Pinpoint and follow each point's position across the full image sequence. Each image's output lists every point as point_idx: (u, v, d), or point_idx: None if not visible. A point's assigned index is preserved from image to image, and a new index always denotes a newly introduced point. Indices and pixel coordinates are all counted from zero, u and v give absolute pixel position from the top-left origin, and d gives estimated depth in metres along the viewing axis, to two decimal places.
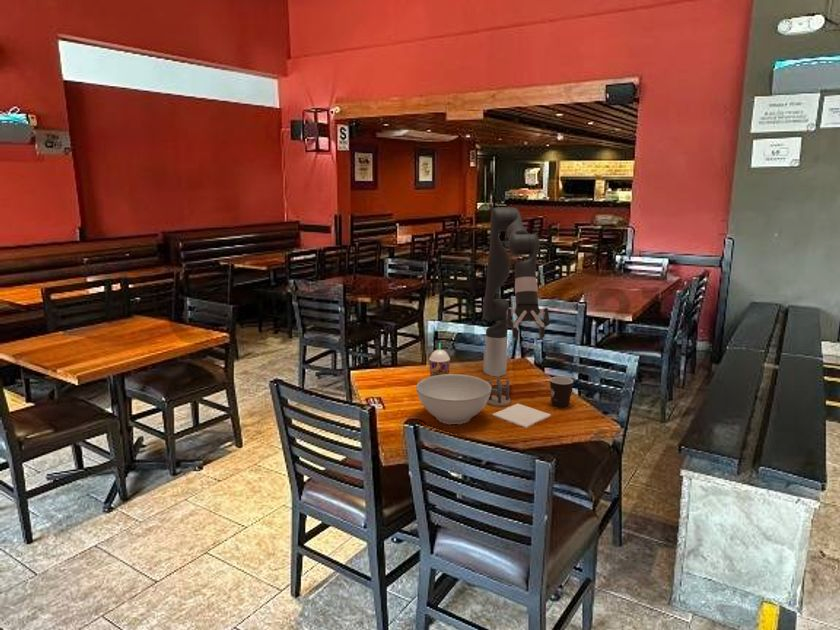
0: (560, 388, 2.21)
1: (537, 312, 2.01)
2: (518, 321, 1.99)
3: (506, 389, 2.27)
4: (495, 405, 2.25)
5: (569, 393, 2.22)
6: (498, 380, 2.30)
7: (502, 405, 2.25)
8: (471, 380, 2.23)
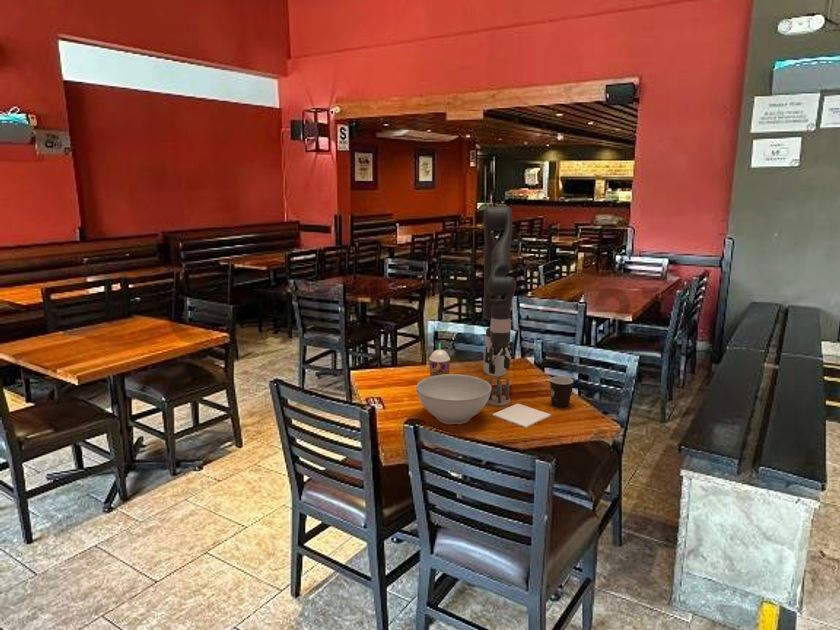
0: (560, 388, 2.21)
1: (507, 347, 2.25)
2: (497, 358, 2.21)
3: (506, 389, 2.27)
4: (495, 405, 2.25)
5: (569, 393, 2.22)
6: (498, 380, 2.30)
7: (502, 405, 2.25)
8: (471, 380, 2.23)
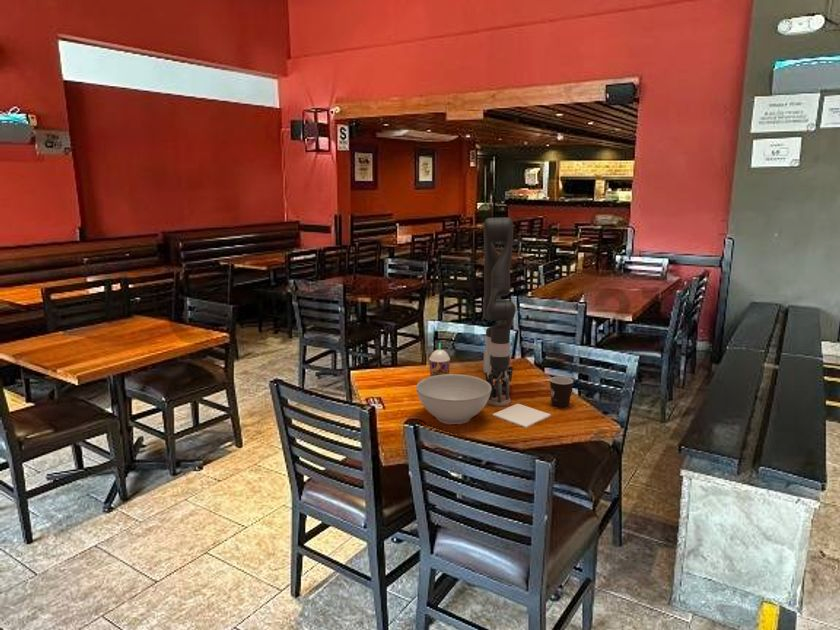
0: (560, 388, 2.21)
1: (506, 370, 2.27)
2: (497, 382, 2.24)
3: (506, 389, 2.27)
4: (495, 405, 2.25)
5: (569, 393, 2.22)
6: None
7: (502, 405, 2.25)
8: (471, 380, 2.23)
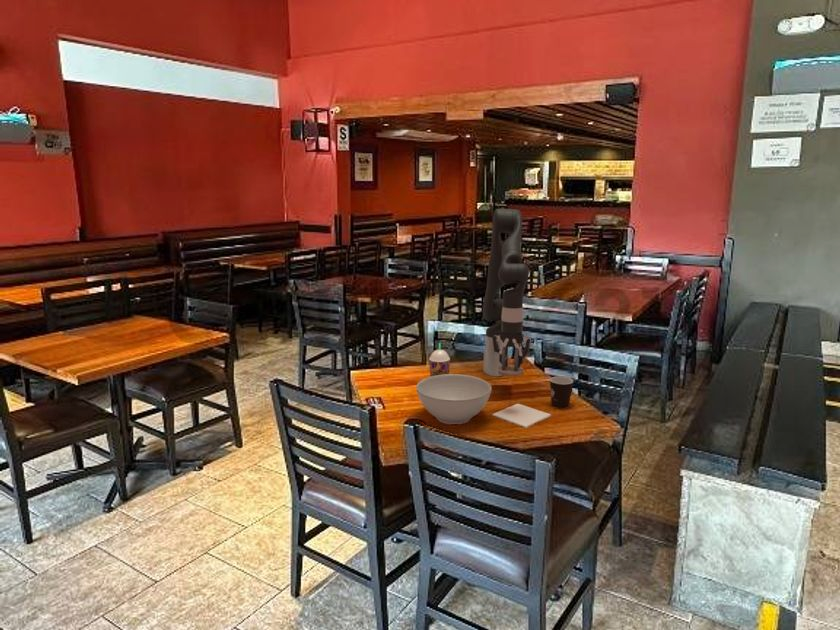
0: (560, 388, 2.21)
1: (519, 340, 2.12)
2: None
3: None
4: (498, 371, 2.17)
5: (569, 393, 2.22)
6: None
7: (502, 372, 2.14)
8: (471, 380, 2.23)
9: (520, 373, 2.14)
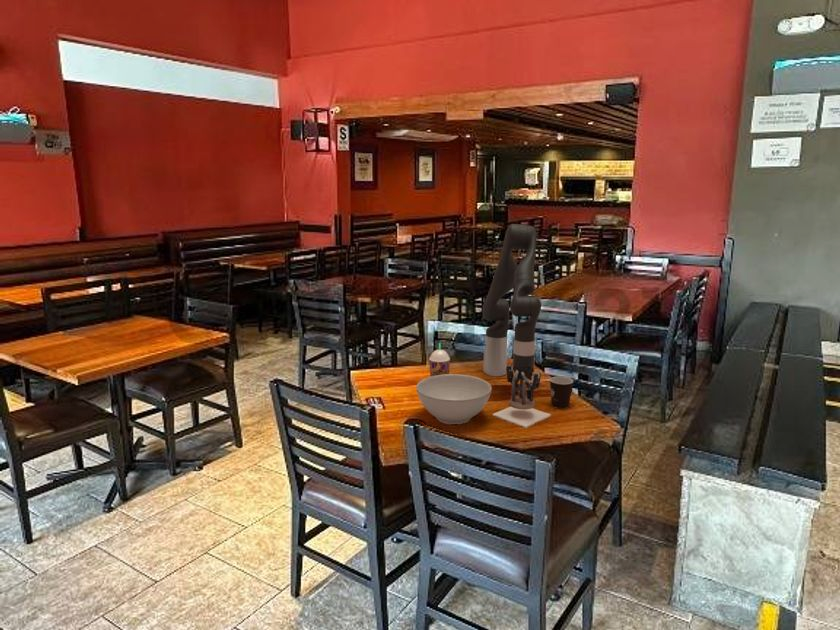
0: (560, 388, 2.21)
1: (528, 374, 2.10)
2: None
3: None
4: None
5: (569, 393, 2.22)
6: None
7: (510, 403, 2.14)
8: (471, 380, 2.23)
9: (527, 407, 2.11)
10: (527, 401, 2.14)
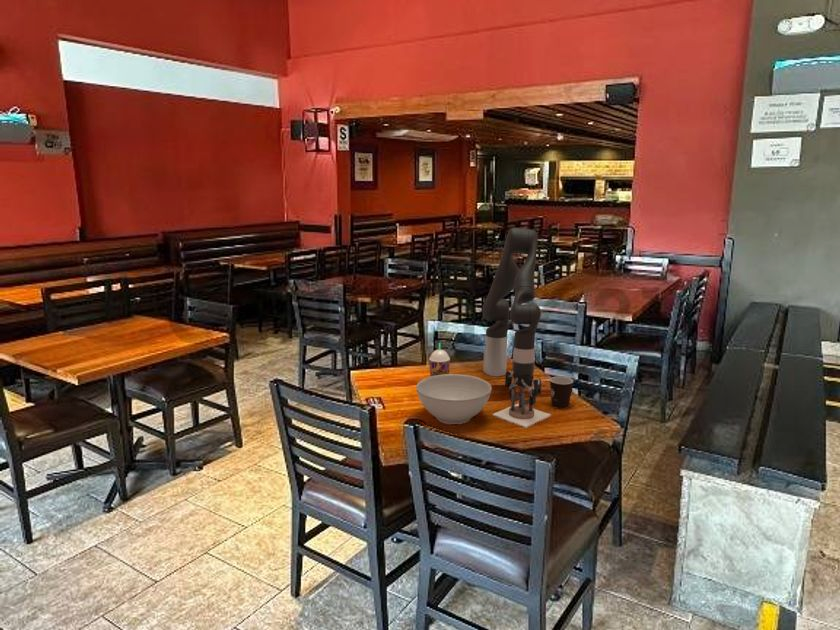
0: (560, 388, 2.21)
1: (528, 381, 2.10)
2: (512, 385, 2.15)
3: None
4: None
5: (569, 393, 2.22)
6: None
7: (509, 413, 2.15)
8: (471, 380, 2.23)
9: (526, 417, 2.12)
10: (526, 411, 2.15)
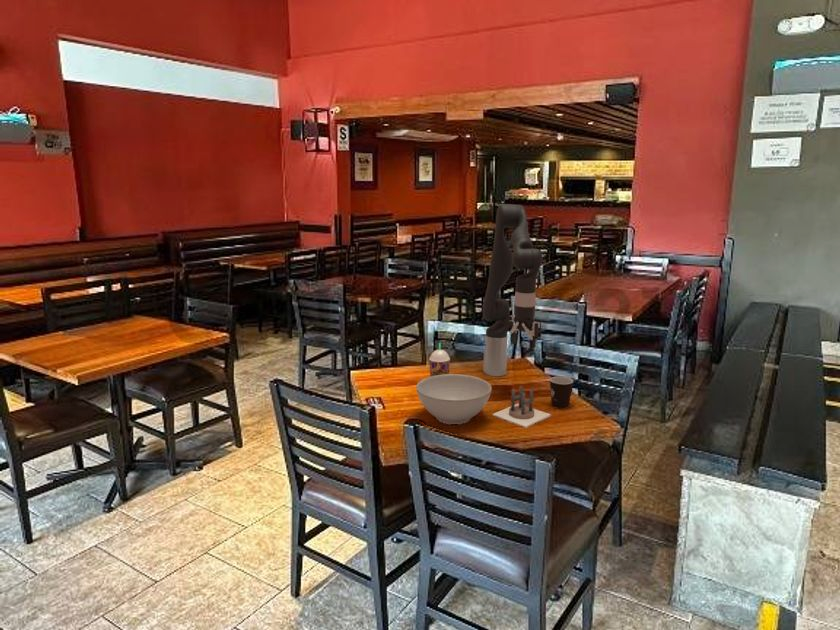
0: (560, 388, 2.21)
1: (529, 325, 2.15)
2: (513, 329, 2.20)
3: None
4: None
5: (569, 393, 2.22)
6: (530, 393, 2.14)
7: (509, 413, 2.15)
8: (471, 380, 2.23)
9: (526, 417, 2.12)
10: (526, 411, 2.15)
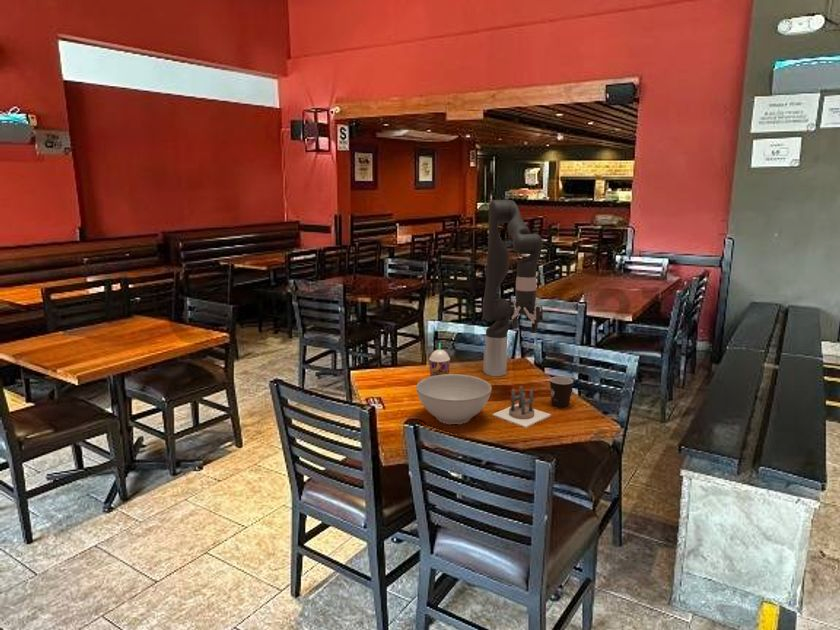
0: (560, 388, 2.21)
1: (530, 309, 2.19)
2: (515, 314, 2.24)
3: None
4: None
5: (569, 393, 2.22)
6: (530, 393, 2.14)
7: (509, 413, 2.15)
8: (471, 380, 2.23)
9: (526, 417, 2.12)
10: (526, 411, 2.15)
